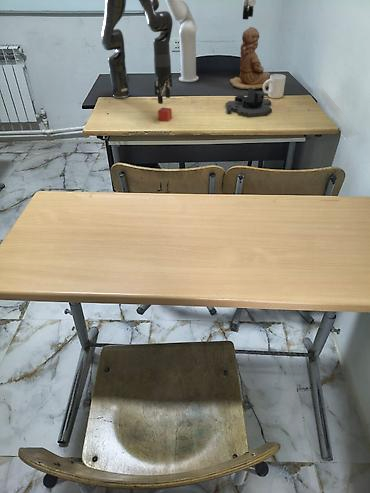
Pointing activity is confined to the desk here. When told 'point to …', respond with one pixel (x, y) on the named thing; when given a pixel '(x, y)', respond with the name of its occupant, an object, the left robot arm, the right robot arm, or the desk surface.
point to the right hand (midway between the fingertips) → (247, 17)
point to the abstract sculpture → (249, 104)
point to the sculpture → (250, 63)
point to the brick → (165, 114)
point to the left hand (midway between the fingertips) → (164, 100)
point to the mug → (275, 86)
